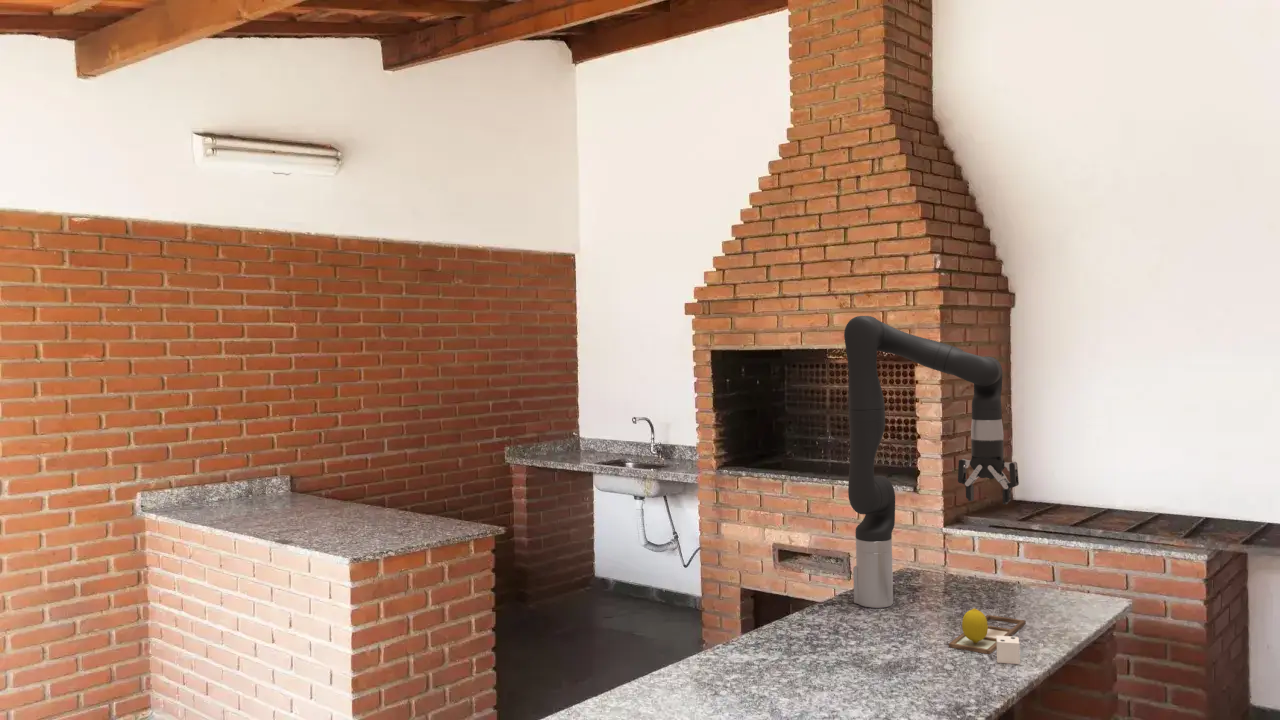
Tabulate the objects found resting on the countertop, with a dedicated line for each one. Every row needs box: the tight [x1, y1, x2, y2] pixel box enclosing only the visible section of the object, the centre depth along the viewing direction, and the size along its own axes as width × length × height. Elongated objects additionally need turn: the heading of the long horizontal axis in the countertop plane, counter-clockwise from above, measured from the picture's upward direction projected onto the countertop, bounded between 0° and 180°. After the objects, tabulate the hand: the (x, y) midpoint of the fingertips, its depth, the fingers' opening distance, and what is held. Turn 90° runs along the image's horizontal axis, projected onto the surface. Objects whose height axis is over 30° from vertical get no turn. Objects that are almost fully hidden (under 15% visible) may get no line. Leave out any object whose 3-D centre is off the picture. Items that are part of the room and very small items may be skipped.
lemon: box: [961, 608, 989, 643], centre depth 225 cm, size 6×6×8 cm
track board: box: [948, 614, 1027, 655], centre depth 231 cm, size 9×26×1 cm, turn 142°
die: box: [996, 635, 1021, 665], centre depth 214 cm, size 4×4×5 cm
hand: (988, 502), depth 246 cm, fingers open, 8 cm apart
